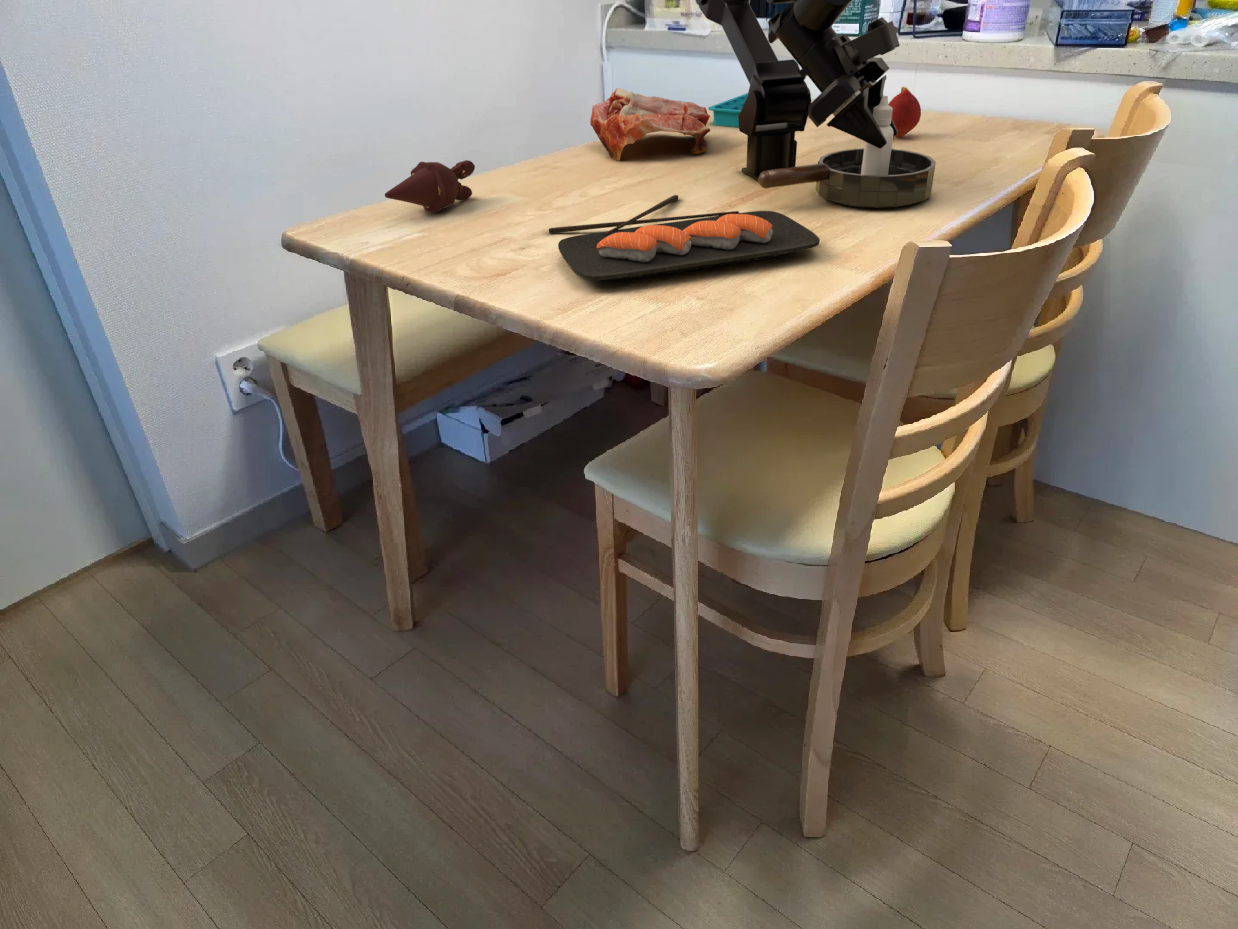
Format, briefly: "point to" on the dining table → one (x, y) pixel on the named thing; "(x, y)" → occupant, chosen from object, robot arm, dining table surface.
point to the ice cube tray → (728, 111)
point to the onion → (905, 111)
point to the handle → (793, 175)
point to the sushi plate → (680, 243)
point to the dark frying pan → (877, 179)
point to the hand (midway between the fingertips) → (889, 140)
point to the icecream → (434, 185)
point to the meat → (646, 120)
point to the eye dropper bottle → (873, 156)
